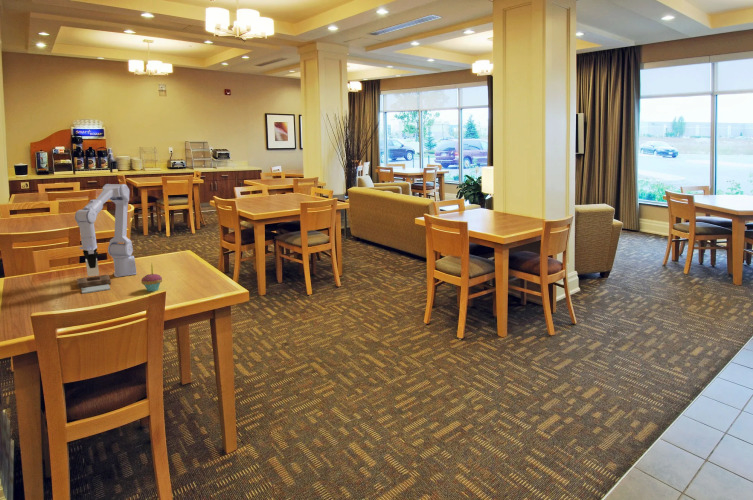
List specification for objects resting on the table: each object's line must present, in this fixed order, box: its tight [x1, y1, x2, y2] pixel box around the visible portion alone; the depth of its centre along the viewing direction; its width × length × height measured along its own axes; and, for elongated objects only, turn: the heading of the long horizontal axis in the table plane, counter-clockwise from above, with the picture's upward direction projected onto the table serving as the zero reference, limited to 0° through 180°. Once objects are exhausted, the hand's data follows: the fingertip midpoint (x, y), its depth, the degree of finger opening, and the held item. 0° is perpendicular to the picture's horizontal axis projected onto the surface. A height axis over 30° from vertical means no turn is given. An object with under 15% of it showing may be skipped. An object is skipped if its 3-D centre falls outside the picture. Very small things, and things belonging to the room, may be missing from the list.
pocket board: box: [76, 274, 112, 290], centre depth 236 cm, size 13×9×2 cm
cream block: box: [84, 257, 100, 277], centre depth 228 cm, size 4×4×7 cm
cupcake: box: [141, 263, 163, 292], centre depth 226 cm, size 9×8×12 cm
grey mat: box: [80, 284, 111, 294], centre depth 228 cm, size 11×7×1 cm, turn 122°
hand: (92, 266), depth 228 cm, fingers closed on cream block, 4 cm apart
